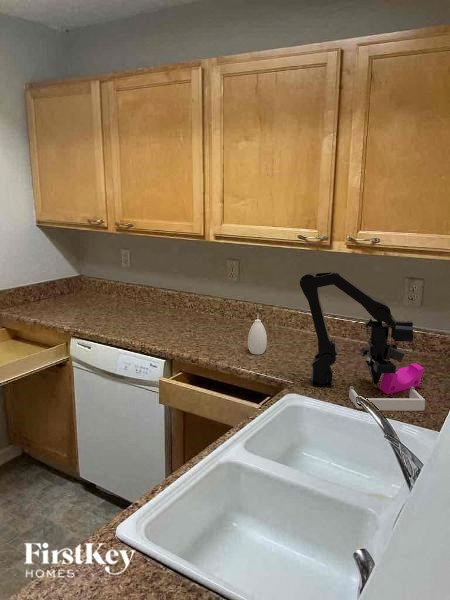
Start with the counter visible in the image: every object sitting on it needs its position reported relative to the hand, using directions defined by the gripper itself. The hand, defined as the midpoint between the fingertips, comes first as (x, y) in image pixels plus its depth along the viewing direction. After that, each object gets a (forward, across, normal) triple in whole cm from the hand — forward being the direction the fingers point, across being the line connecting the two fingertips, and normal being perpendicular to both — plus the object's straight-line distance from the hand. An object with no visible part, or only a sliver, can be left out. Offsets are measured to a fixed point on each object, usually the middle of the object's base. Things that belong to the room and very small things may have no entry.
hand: (375, 383), depth 158 cm
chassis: (+2, -10, 0) cm, 10 cm away
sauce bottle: (+3, +36, +37) cm, 52 cm away
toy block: (+2, +3, -9) cm, 9 cm away
